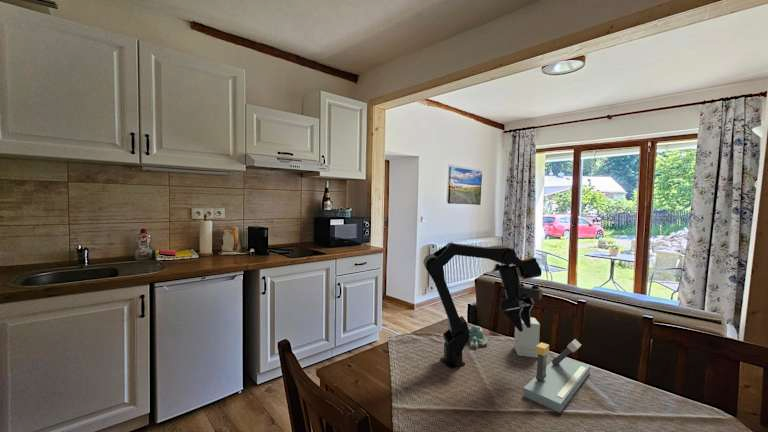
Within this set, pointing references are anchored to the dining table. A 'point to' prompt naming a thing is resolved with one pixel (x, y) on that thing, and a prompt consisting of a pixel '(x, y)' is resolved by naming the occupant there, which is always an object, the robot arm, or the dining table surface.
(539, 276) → the robot arm
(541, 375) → the lever
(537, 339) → the supplement box
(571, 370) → the switch panel
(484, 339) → the stuffed animal
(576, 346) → the on lever
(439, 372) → the dining table surface
